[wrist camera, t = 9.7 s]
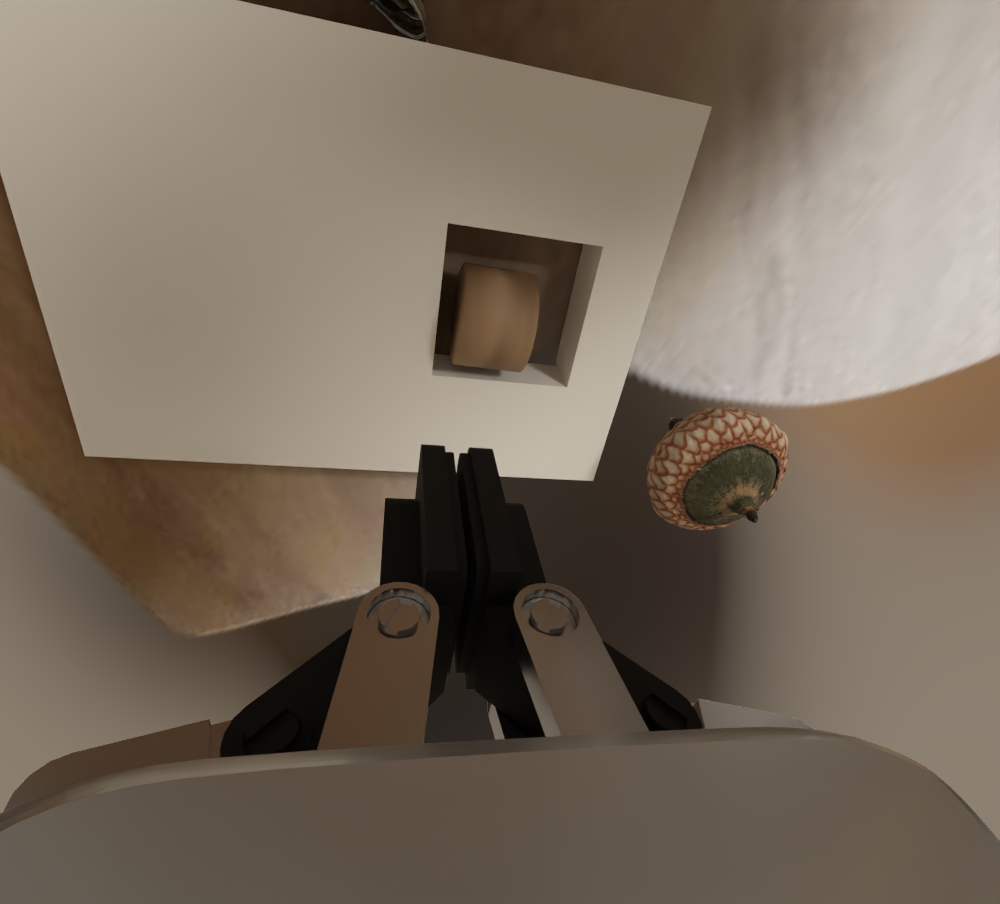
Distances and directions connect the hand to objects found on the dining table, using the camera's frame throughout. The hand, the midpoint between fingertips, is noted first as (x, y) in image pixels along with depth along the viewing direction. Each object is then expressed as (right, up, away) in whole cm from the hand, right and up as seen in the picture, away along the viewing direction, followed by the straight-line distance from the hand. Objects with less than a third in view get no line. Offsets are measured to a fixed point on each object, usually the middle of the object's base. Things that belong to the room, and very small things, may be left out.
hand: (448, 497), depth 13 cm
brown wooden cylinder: (-1, +8, +14) cm, 16 cm away
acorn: (+13, +3, +23) cm, 27 cm away
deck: (-5, +10, +15) cm, 19 cm away
